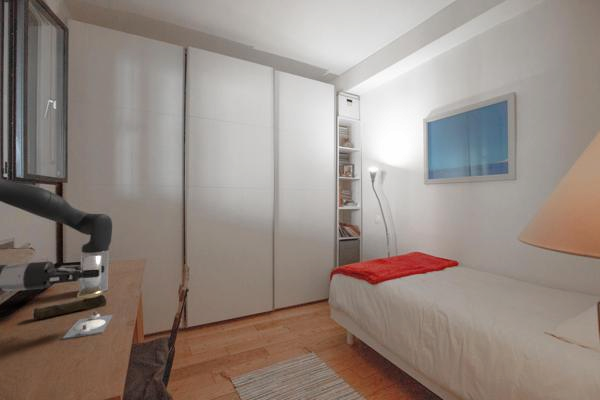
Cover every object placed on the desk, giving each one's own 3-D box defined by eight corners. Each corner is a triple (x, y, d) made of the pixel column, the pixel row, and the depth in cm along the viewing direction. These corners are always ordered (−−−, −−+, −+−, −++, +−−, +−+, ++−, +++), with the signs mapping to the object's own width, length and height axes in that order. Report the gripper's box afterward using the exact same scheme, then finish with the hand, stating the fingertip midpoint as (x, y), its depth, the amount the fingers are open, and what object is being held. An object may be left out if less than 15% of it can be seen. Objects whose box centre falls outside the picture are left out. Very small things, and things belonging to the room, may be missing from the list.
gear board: (78, 320, 84) (79, 312, 85) (112, 315, 88) (112, 308, 88) (62, 339, 73) (62, 330, 73) (102, 333, 76) (102, 324, 76)
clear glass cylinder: (81, 293, 82) (82, 254, 82) (104, 291, 84) (106, 253, 85) (74, 299, 76) (75, 258, 77) (99, 297, 79) (100, 257, 79)
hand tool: (32, 323, 83) (33, 308, 83) (33, 319, 86) (34, 304, 86) (106, 308, 96) (107, 295, 96) (105, 305, 99) (105, 292, 99)
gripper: (14, 268, 68) (95, 263, 75) (41, 258, 81) (108, 254, 88) (13, 297, 68) (94, 289, 75) (40, 282, 81) (107, 277, 88)
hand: (101, 270), depth 82 cm, fingers closed on clear glass cylinder, 5 cm apart
